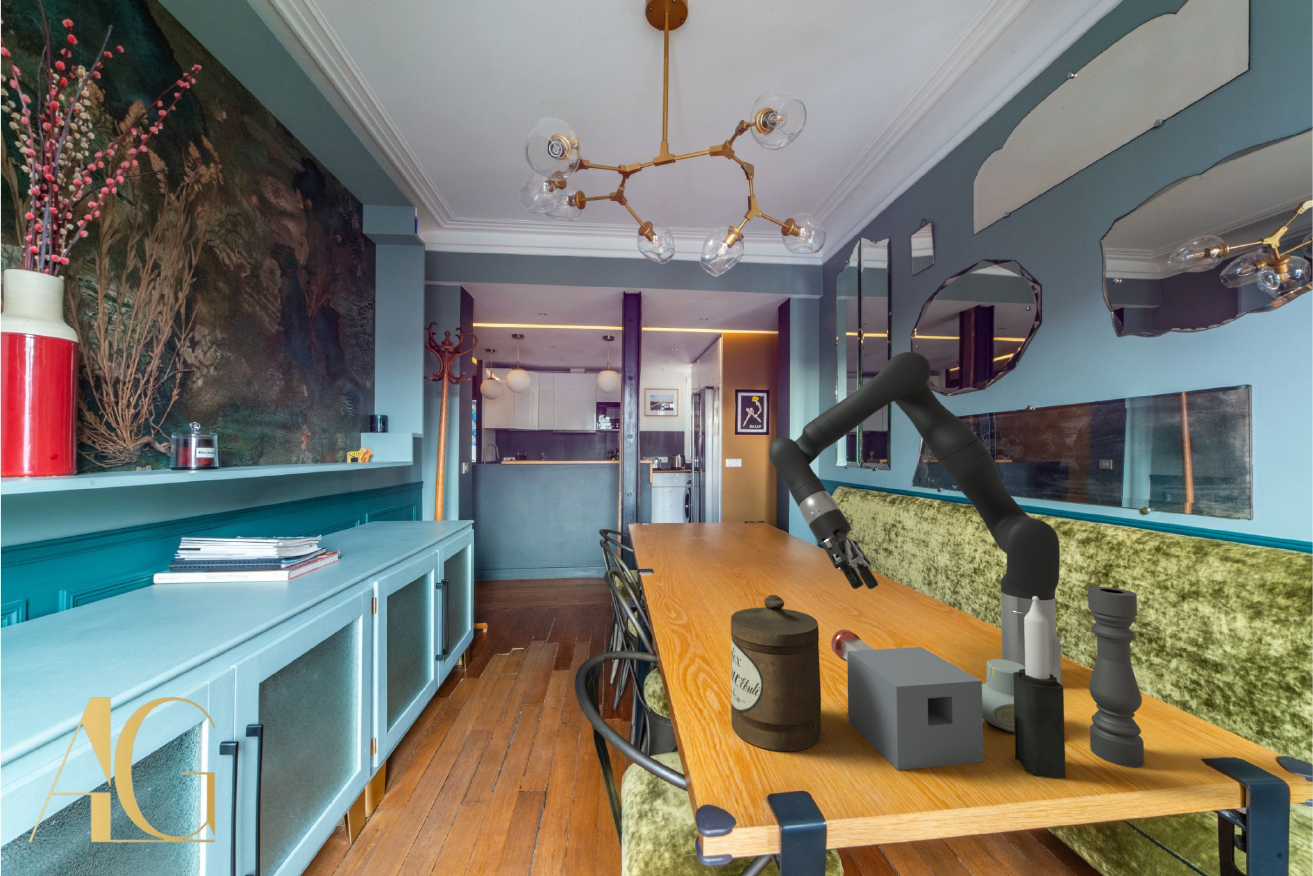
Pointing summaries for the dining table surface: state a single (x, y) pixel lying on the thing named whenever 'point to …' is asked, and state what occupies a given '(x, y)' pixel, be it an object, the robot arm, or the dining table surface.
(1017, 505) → the robot arm
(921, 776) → the dining table surface
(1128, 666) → the candle holder
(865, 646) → the plunger
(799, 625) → the wooden container
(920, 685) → the housing
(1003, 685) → the air freshener
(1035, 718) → the candle
